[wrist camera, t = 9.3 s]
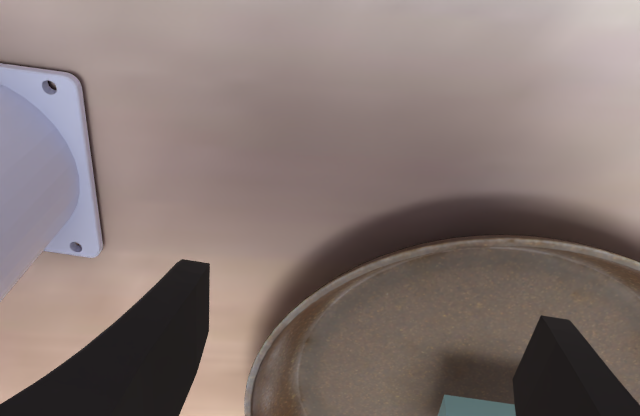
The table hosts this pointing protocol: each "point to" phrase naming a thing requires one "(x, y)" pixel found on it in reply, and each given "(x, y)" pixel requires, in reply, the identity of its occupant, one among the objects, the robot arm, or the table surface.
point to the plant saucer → (443, 326)
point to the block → (474, 407)
